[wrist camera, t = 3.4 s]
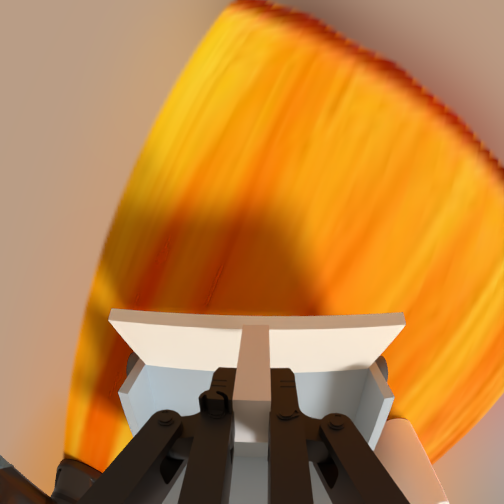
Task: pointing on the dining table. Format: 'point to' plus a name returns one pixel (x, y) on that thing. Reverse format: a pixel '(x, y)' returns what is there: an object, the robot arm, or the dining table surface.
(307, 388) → the truck bed
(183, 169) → the dining table surface
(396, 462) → the cup
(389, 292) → the dining table surface
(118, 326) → the tailgate
